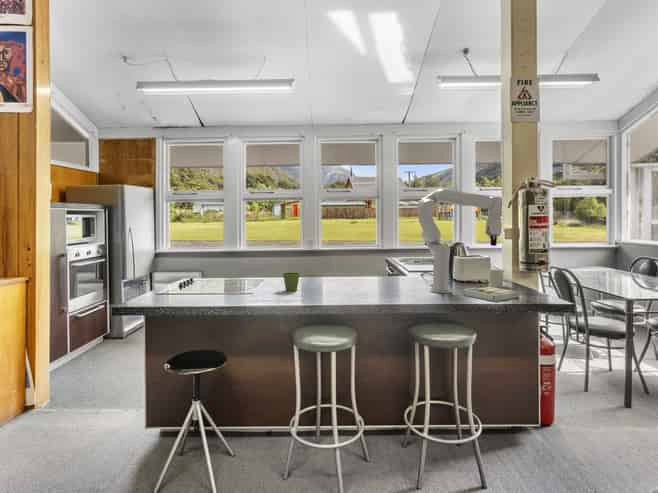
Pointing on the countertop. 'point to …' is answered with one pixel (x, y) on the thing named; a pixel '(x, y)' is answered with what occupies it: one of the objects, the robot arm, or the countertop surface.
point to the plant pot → (291, 280)
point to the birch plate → (498, 292)
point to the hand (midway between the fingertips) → (493, 245)
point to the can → (495, 277)
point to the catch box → (483, 295)
